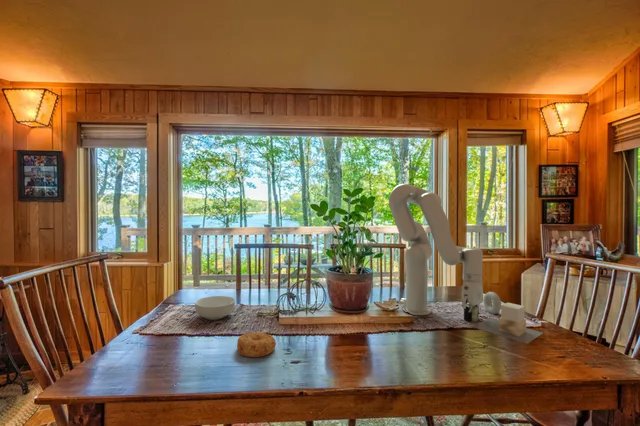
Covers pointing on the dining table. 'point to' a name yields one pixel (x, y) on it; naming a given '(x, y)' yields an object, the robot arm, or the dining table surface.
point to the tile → (493, 327)
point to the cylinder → (474, 313)
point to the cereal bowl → (214, 307)
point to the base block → (512, 326)
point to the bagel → (255, 344)
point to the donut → (496, 301)
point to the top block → (512, 312)
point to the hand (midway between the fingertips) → (471, 318)
